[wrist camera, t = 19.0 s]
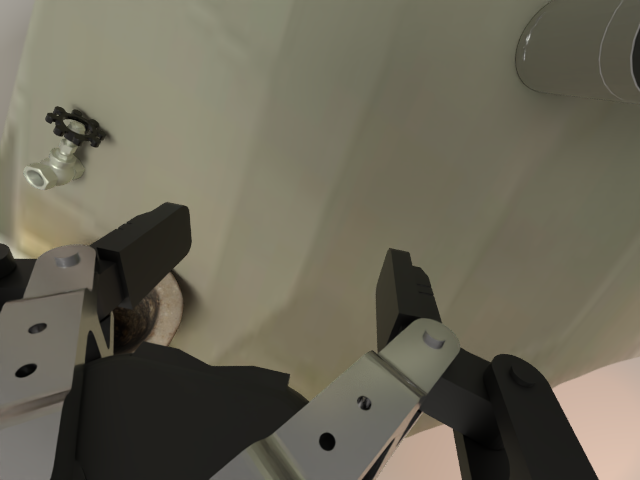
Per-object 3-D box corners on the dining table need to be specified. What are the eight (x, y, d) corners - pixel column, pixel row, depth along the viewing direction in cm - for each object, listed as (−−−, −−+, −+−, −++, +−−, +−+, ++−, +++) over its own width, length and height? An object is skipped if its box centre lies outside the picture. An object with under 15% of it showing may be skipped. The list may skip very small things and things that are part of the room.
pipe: (88, 279, 74) (52, 205, 51) (196, 329, 78) (207, 280, 55) (-5, 372, 59) (-114, 326, 36) (134, 429, 63) (114, 419, 40)
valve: (87, 188, 50) (116, 138, 45) (51, 203, 45) (80, 147, 39) (51, 159, 49) (77, 103, 43) (9, 171, 43) (33, 108, 38)
